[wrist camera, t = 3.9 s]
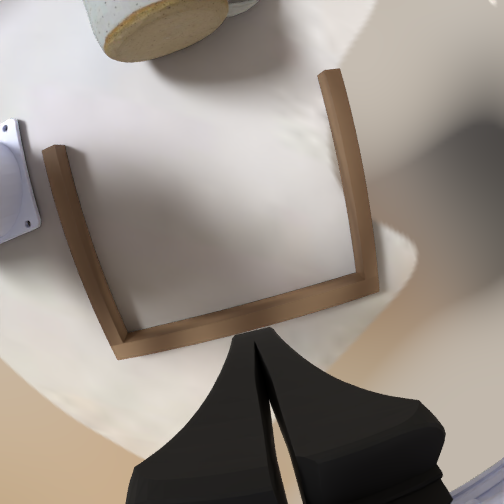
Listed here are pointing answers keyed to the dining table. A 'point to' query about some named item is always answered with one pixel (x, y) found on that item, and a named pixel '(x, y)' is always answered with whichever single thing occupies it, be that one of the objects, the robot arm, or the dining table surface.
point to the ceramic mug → (155, 25)
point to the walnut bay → (246, 314)
